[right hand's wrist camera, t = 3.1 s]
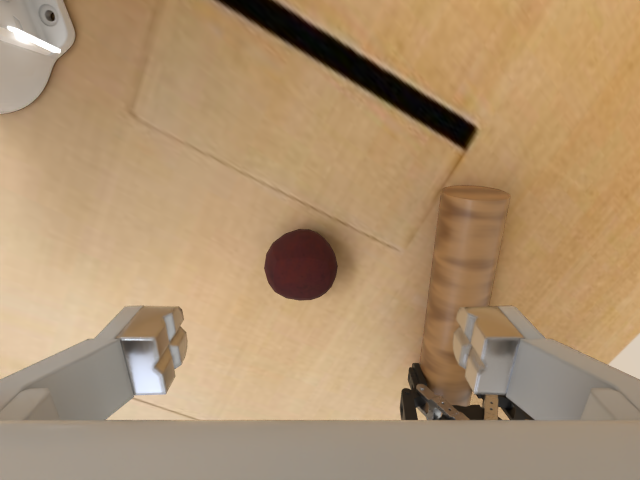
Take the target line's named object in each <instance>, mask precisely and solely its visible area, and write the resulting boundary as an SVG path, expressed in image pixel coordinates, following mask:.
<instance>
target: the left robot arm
mask: <svg viewBox="0 0 640 480" xmlns="http://www.w3.org/2000/svg"><path fill="white" fill-rule="evenodd" d="M408 382H409V385H410V388H411V390H410V389H408V388H404V389H403V390H402V393H401V402H400V414H401V420H418V418H417V413H416V407H417V408H418V409H419V410H420V411H421V412H422V413H423V414H424V415H425V417H426V418H427V420H502V419H500V418H499V417H498V407H501V408H502V410H503V411H504V412H505V414H506V415H507V416H508V418H509V419H510V420H535V419H533V418H532V417H531V416H530V415H528V414H527V413H526V412H525V411H523V410H522V409H521V408H520V407H518V406H517V405H516V404H515V403H513V402H512V401H511V400H510V399H508V398H507V397H506V395H482V394H476V395H477V397H478V398H482V399H483V403H482V407H480V405H470V406H466V407H465V406H460V405H451V404H450V403H449V402H448V401H446V400H445V399H444V398H443V397H442V396H441V395H438V396H437V395H435V394H434V393H433V392H432V391H431V390H430V389H429V388H428V387H427V382H426V380H425V377H424V375H423V372H422V370H421V367H420V365H419V363H413V364H412V368H409V374H408ZM441 413H442V416H441Z"/></svg>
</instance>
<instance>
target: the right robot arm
mask: <svg viewBox="0 0 640 480" xmlns="http://www.w3.org/2000/svg"><path fill="white" fill-rule="evenodd" d="M52 12H53V13H54V15H55V19H54V21H52V19H51V13H52ZM74 40H75V30H74V27H73V24H72V22H71V19H70V17H69V14H68V12H67V9H66V7H65V4H64V1H63V0H0V114H4V113H10V112H14V111H18V110H20V109H22V108H24V107H26V106H28V105H29V104H31V103H32V102H33V101H34V100H35V99H36V98H37V97H38V96H39V95H40V94H41V92H42V91H43V89H44V88H45V86H46V84H47V82H48V79H49V77H50V74H51V71H52V68H53V66H54V64H55V62H56V60H57V59H58V58H59V57H61V56H62V55H63V54H64V53H65V52H66V51H67V50H68V49H69V48H70V47H71V46H72V44H73V43H74ZM183 320H184V317H183V312H182V309H181V308H180V307H178V306H126V307H124V308H123V309H122V310H121V311H120V312H119V313H118V314H117V315H116V316H115V317H114V319H113V320H112V321H111V322H110V323H109V324H108V325H107V326H106V327H105V328H104V329H103V330H102V331H101V332H100V333H99V334H98V335H97V336H96V337H95V338H94V339H87V340H85V341H83V342H81V343H78V344H76V345H74V346H72V347H70V348H68V349H65V350H63V351H61V352H59V353H57V354H55V355H52V356H50V357H48V358H46V359H44V360H42V361H39V362H37V363H35V364H33V365H31V366H29V367H26V368H24V369H22V370H20V371H18V372H16V373H13V374H11V375H9V376H7V377H5V378H3V379H0V480H640V380H639V379H637V378H635V377H633V376H631V375H629V374H626V373H624V372H622V371H620V370H618V369H616V368H613V367H611V366H609V365H607V364H605V363H603V362H600V361H598V360H596V359H594V358H592V357H590V356H588V355H585V354H583V353H581V352H579V351H577V350H575V349H572V348H570V347H568V346H566V345H564V344H562V343H559V342H557V341H555V340H553V339H546V338H545V337H544V336H543V335H542V334H541V333H540V332H539V331H538V330H537V329H536V328H535V327H534V326H533V325H532V324H531V323H530V322H529V321H528V319H527V318H526V317H525V316H524V315H523V314H522V313H521V312H520V311H519V310H518V309H517V308H516V307H514V306H483V307H459V310H458V312H457V317H456V320H457V322H458V324H459V325H460V326H459V327H458V329H457V330H456V331H455V332H454V335H453V352H454V355H455V358H456V360H457V362H458V364H459V365H460V366H461V367H463V368H464V369H466V371H465V378H466V380H467V382H468V384H469V385H470V387H471V389H472V391H473V393H474V394H482V395H506V397H507V398H508V399H510V400H511V401H512V402H513V403H515V404H516V405H517V406H518V407H520V408H521V409H522V410H523V411H525V412H526V413H527V414H528V415H530V416H531V417H532V418H533V419H535V420H106V419H107V418H108V417H109V416H111V415H112V414H113V413H114V412H116V411H117V410H118V409H119V408H121V407H122V406H123V405H124V404H126V403H127V402H128V401H129V400H131V399H132V398H133V397H134V395H157V394H166V393H167V391H168V389H169V387H170V385H171V384H172V382H173V380H174V378H175V371H174V369H176V368H177V367H179V366H180V365H181V364H182V362H183V360H184V358H185V355H186V351H187V334H186V332H185V331H184V330H183V329H182V327H181V326H180V325H181V324H182V322H183Z"/></svg>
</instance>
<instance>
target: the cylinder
mask: <svg viewBox="0 0 640 480" xmlns="http://www.w3.org/2000/svg"><path fill="white" fill-rule="evenodd" d="M509 201H510V195H509V194H508V193H506V192H504V191H501V190H498V189H493V188H488V187H480V186H450V187H445V188H443V189H442V190H441V197H440V205H439V213H438V222H437V230H436V238H435V246H434V254H433V262H432V270H431V278H430V286H429V294H428V302H427V310H426V318H425V326H424V334H423V342H422V350H421V359H420V367H421V370H422V372H423V375H424V377H425V380H426V382H427V387H428V388H429V389H430V390H431V391H432V392H433V393H434V394H435V395H437V396H438V395H441V396H442V397H443V398H444V399H445V400H446V401H448V402H449V403H450V404H451V405H460V406H465V407H466V406H469V405H470V400H471V394H472V389H471V387H470V385H469V384H468V382H467V380H466V378H465V371H466V369H464V368H463V367H461V366H460V365H459V364H458V362H457V360H456V358H455V355H454V352H453V335H454V332H455V331H456V330H457V329H458V327H459V326H460V325H459V324H458V322H457V320H456V317H457V312H458V310H459V307H483V306H489V303H490V298H491V293H492V288H493V283H494V277H495V272H496V267H497V262H498V257H499V252H500V247H501V242H502V237H503V232H504V227H505V221H506V216H507V211H508V206H509ZM441 416H442V413H441Z"/></svg>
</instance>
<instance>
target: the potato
mask: <svg viewBox="0 0 640 480" xmlns="http://www.w3.org/2000/svg"><path fill="white" fill-rule="evenodd" d="M264 269H265V273H266V276H267V280H268V283H269V284H270V286H271V287H272V288H273V290H274V291H275V292H276V293H278V294H280V295H282V296H283V297H285V298H288V299H294V300H312V299H315V298H318V297H320V296H322V295H323V294H325V293H326V292H327V291H328V290H329V289H330V288H331V287H332V284H333V282H334V280H335V277H336V273H337V261H336V257H335V253H334V252H333V250H332V248H331V246H330V245H329V243H328V242H327V241H326V240H325V239H324V238H323V237H322V236H321V235H320V234H318V233H316V232H314V231H311V230H306V229H298V230H295V231H292V232H289V233H286V234H284V235H283V236H282V237H280V238H279V239H277V240H276V241H275V242H274V243H273V244H272V246H271V247H270V249H269V250H268V252H267V254H266V260H265V267H264Z"/></svg>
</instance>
